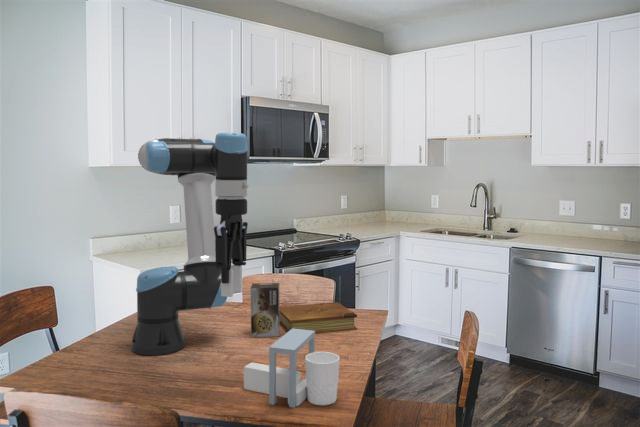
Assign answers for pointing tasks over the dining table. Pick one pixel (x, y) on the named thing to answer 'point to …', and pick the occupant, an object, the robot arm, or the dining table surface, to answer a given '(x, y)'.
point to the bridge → (289, 346)
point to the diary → (317, 317)
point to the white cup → (322, 377)
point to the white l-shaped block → (259, 381)
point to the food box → (265, 310)
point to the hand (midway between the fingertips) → (231, 293)
